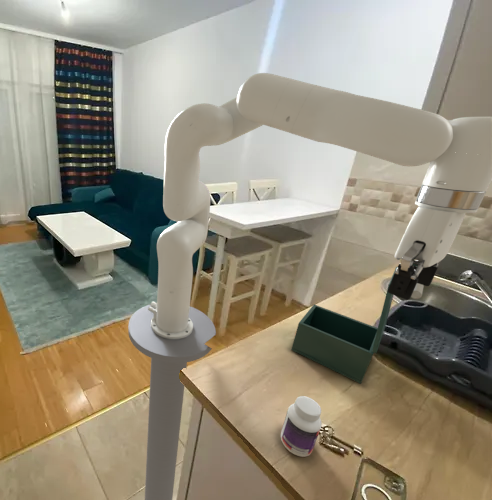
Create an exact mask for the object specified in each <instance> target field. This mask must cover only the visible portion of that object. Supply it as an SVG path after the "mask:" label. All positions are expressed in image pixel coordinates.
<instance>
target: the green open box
mask: <svg viewBox="0 0 492 500" xmlns="http://www.w3.org/2000/svg"><path fill="white" fill-rule="evenodd" d="M377 329H378V327H376V326H374V325H371V324H368V323H366V322H363V321H360V320H358V319H355V318H353V317H349V316H347V315H344V314H341V313H339V312H336V311H333V310H331V309H329V308H325V307H323V306H319V305H317V304H313V305H312V306H311V307H310V309H309V310H308V311H307V312H306V313H305V315H303V316H302V318H301V319H300V321H299V322H298V324H297V328H296V332H295V335H294V339H293V342H292V346H291V349H290V350H291V351H292V352H295V353H297V354H299V355H301V356H303V357H304V358H307V359H309V360H310V361H313V362H315V363H317V364H319V365H321V366H323V367H325V368H328V369H329V370H331V371H333V372H335V373H338V374H339V375H341V376H344V377H346V378H348V379H349V380H352V381H354V382H357V383H358V384H360V385H361V384H362V383H363V380H364V378H365V375H366V373H367V371H368V368H369V366H370V363H371V361H372V358H373V356H374V354H375V353H374V352H372V349H373V345H374V341H375V337H376V333H377Z"/></svg>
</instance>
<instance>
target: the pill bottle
mask: <svg viewBox="0 0 492 500" xmlns="http://www.w3.org/2000/svg"><path fill="white" fill-rule="evenodd" d="M321 415H322V407H321V406H320V404H319V402H317V401H316V400H315V399H313V398H311V397H309V396H305V395H300V396H297V397H296V399H295V401H294V403H292V404H290V405H289V406H288V408H287V411H286V415H285V417H284V421H283V425H282V428H281V431H280V440H281V443H282V445H283V446H284V448H285V449H286V450H288V451H289V452H290V453H291V454H292V455H295V456H297V457H302V458H304V457H308V456H310V455H311V454H312V453H313V450H314V448H315V445H316V442H317V439H318V437H319V434H320V432H321V429H322V424H323V423H322V419H321Z"/></svg>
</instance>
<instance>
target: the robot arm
mask: <svg viewBox="0 0 492 500" xmlns="http://www.w3.org/2000/svg"><path fill="white" fill-rule="evenodd" d="M263 126H267V127H269V128H273V129H276V130H280V131H283V132H286V133H288V134H292V135H295V136H297V137H301V138H304V139H308V140H311V141H313V142H317V143H323V144H330V145H333V146H337V147H341V148H344V149H347V150H351V151H354V152H358V153H361V154H364V155H366V156H371V157H373V158H377V159H379V160H383V161H386V162H388V163H391V164H392V163H393V164H394V165H395V164H396V165H398V166H402V167H418V166H423V165H427V164H429V165H428V168H427V169H426V172H425V176H424V177H423V180H422V182H421V185H420V188H419V191H418V193H417V196H416V198H415V200H414V201H415V202H414V205H415V206H418V207H417V208H416V210H415V212H414V213H413V215H412V216H411V218H410V221H409V222H408V224H407V226H406V228H405V231H404V233H403V235H402V237H401V240H400V242H399V244H398V246H397V248H396V250H395V253H394V256H393V257H394V259H395V260H397V261H400V263H398V265H397V267H398V268H397V269H396V271H395V270H394V271H395V273H394V272H393V273H394V276H393V275H392V276H393V278H392V277H391V278H392V281H391V283H390V282H389V283H390V286H389V288H388V287H387V289H388V293H390V294H393V296H396V297H398V298H401V299H404V300H407V301H408V300H410V299H411V298H412V297H411V296H412V293H413V291H414V289H415V287H416V284H417V283H419V284H422V285H424V287H429V286H431V285H432V282H433V281H434V278H435V276H436V274H437V272H438V269H439V265H440V263H441V261H443V260H444V259H445V258H446V256H447V255H448V253H449V251H450V249H451V248H452V245H453V244H454V241H455V239H456V237H457V235H458V233H459V231H460V228H461V226H462V224H463V221H464V220H465V217H466V214H476V213H477V212H478V211H479V208H480V206H481V204H482V202H483V199H484V198H485V195H486V193H487V191H488V190H489V187H490V185H491V183H492V116H464V117H458V118H453V119H447V118H446V117H444V116H442V115H441V114H438V113H435V112H432V111H428V110H425V109H420V108H418V107H417V108H416V107H413V106H409V105H404V104H400V103H396V102H392V101H388V100H383V99H380V98H379V99H378V98H374V97H369V96H364V95H359V94H354V93H351V92H349V91H343V90H339V89H334V88H330V87H325V86H322V85H317V84H313V83H310V82H306V81H303V80H302V81H301V80H298V79H293V78H289V77H285V76H281V75H278V74H274V73H268V72H259V73H255V74H252V75H251V76H249V77H248V78H246V80H244V82H243V83H242V84H241V86H240V87H239V90H238V93H237V96H236V97H234V98H232V99H230V100H228V101H226V102H225V103H223V104H221V105H219V106H218V105H215V104H212V103H196V104H193V105H191V106H188V107H187V108H185V109H183V110H182V111H180V112H179V113H178V114H177V115H176V116H175V117H174V118H173V120H172V121H171V123H170V125H169V126H168V127H167V131H166V134H165V140H164V171H163V192H162V193H163V195H162V207H163V212H164V214H165V216H166V217H167V218H168V219H169V220H170V221H173V222H176V223H173V224H172V225H170V226H168V227H167V228H165V229H163V231H162V232H161V234H159V236H158V238H157V242H156V253H157V261H158V262H157V263H158V264H157V265H158V269H157V270H158V271H157V272H158V273H157V297H156V302H155V301H151V303H150V304H149V305H150V306H151V307H149V308H148V310H149V311H150V312H152V313H153V314H154V316H153V318H152V320H151V328H152V330H153V331H154V332H155V333H156V334H157V335H159V336H161V337H163V338H166V339H182V338H185V337H187V336H189V335H190V334H191V332H192V330H193V323H192V321H191V319H190V318H189V308H190V306H191V297H192V287H193V279H194V267H193V256H194V254H195V253H196V252H197V251H198V250H199V249H200V248H201V247H202V246H203V245H204V244H205V242H206V240H207V237H208V231H209V224H210V223H209V220H210V211H211V193H210V189H209V188H208V186H207V185H206V184H205V182H203V181H202V180H200V173H201V160H200V150H201V149H202V148H204V147H212V146H215V147H216V146H221V145H224V144H226V143H229V142H231V141H232V140H235V139H237V138H240V137H242V136H243V135H245V134H247V133H249V132H251V131H254V130H256V129H258V128H261V127H263ZM455 152H456V153H455ZM466 153H467V154H466ZM477 154H481V155H477Z"/></svg>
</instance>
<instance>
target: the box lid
mask: <svg viewBox="0 0 492 500" xmlns="http://www.w3.org/2000/svg"><path fill="white" fill-rule="evenodd" d="M397 268H398V266H395V269H394V271H393V274H392V276H391V278H390V280H389V282H388V286H387V290H386V293H385V297H384V302H383V306H382V309H381V314H380V318H379V322H378V325H377V328H378V329H377V333H376V337H375V341H374V345H373V349H372V352H374V354H377V352H378V351H379V350H378V349H379V347H380V344H381V341H382V338H383V336H384V333H385V330H386V326H387V322H388V318H389V315H390V311H391V308H392V302H393V299H394V295H393V294H390V293H388V288H389V286H390V283H391V281H392V278H393V276H394V273H395V271H396V269H397ZM424 287H425V285H422V284H419V283H417V284H416V287H415V289H414V291H413V293H412V296H411V298H412V299H414V300H419V299H421V298H422V296H423V292H424Z"/></svg>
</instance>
